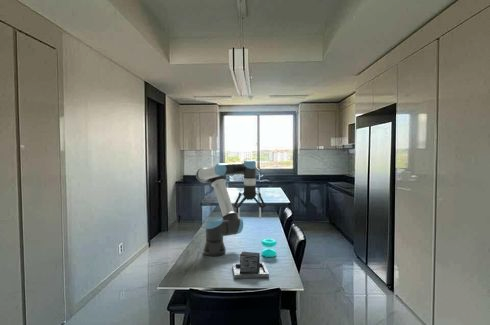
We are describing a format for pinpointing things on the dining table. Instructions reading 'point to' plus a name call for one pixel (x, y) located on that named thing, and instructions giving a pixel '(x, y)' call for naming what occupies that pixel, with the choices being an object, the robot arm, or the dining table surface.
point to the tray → (261, 274)
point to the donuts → (268, 244)
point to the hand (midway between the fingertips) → (249, 218)
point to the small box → (249, 262)
